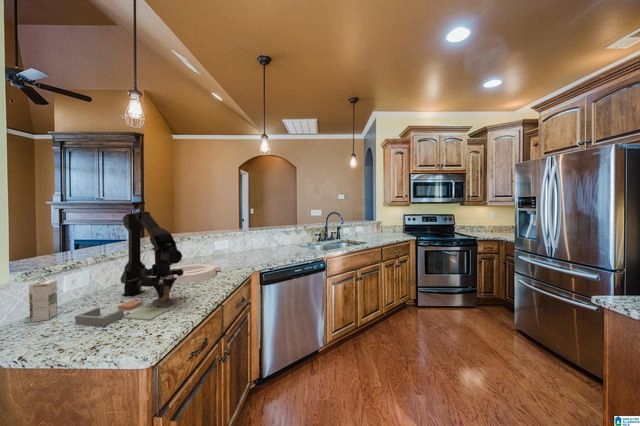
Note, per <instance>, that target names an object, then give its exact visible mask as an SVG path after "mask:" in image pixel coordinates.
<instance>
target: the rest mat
mask: <svg viewBox="0 0 640 426" xmlns="http://www.w3.org/2000/svg"><path fill="white" fill-rule="evenodd" d="M168 311H170V308H165V307H164V308H163V307H152V306H151V307H150V306H144V307H142V308H139V309H137V310H135V311H134V312H131V313H129V314H127V315H124V317H123V318H122V319H129V320H142V321H152V320H154V319H155V318H157V317H160V316H162V315H163V314H165V313H166V312H168Z"/></svg>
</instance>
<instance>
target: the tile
mask: <svg viewBox="0 0 640 426" xmlns="http://www.w3.org/2000/svg"><path fill="white" fill-rule="evenodd" d="M143 304H144V303H143V301H140V300H130V301H126V302H124V303H121V304H119V305H118V310H121V309H124V311H129V310H130V311H132V309H133V310H135V309H137V308H139V307H141V306H143ZM118 310H117V311H118Z"/></svg>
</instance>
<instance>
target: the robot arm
mask: <svg viewBox="0 0 640 426" xmlns="http://www.w3.org/2000/svg"><path fill="white" fill-rule="evenodd" d="M122 221H123V226H124V228H125V229H126V230H127V232H128V236H127V237H128V241H127V242H128V261H127V262H126V264H125V266H124V271H123V272H122V275H121V276H120V278H119V279H120V283H121V284H124V286H123V287H124V289H123V291H124V293H122V296H128V297H129V296H131V297H134V296H137V295H140V294H142V293H145V290H142V287H147V288H150V287H152V288H154V290H155V291H156V294H157V297H158V296H159V298H162V297H163V293H164V287H165V285H168V286H169V293H170V291H172V287H173V286H174V285H175V284H174V282H175V280H176V279H177V278H174V275H178V276H181V275H183V270H182V269H171V266H172V265H175V264H178V263H179V262H181V261H182V258H183V254H182V252H181V251H180V250H179V249H178V247H177V242H176V241H175V239H174V237H173V235H172V233H171V232H170V231H169V230H167V229H165V228H162V227H161V226H160V225H159V224H158V223H157V221H155V219H154V218H153V216H152V215H151V213H150V211H137V212H134V213H126V214H125V215H123V217H122ZM143 229H145V230H146V231H147V233H148V234H149V242H150V243H151V244H152V246H153V248H152V251H154V263H153V264H152V265H151V268H147V267H146V265H145V264H144V263H143V262H142V261H141V260H142V259H141V257H142V256H141V251H142V250H141V249H142V248H141V242H142V241H141V235H142V234H141V232H142V230H143ZM170 269H171V270H170ZM161 277H162V278H161Z"/></svg>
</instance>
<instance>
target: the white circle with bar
mask: <svg viewBox="0 0 640 426" xmlns="http://www.w3.org/2000/svg"><path fill="white" fill-rule="evenodd" d="M171 269H182V270H183V275H181V276H178V275H174V278H177V279H176V280H175V282H174V283H182V284H191V283H190V282H193V283H197V282H196V281H198V282H202V281H201V280H203V281H206V280H205V279H207V280H209V279H211V277H212V278H214V277H215V276H216V275H215V274H216V273H217V272H218V271H221V270H222V266H220V265H214V264H208V263H195V264H194V263H193V264H186V265H185V264H184V265H180V266H175V267H174V266H173V267H170V270H171ZM213 276H214V277H213ZM161 278H162V277H161Z"/></svg>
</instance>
